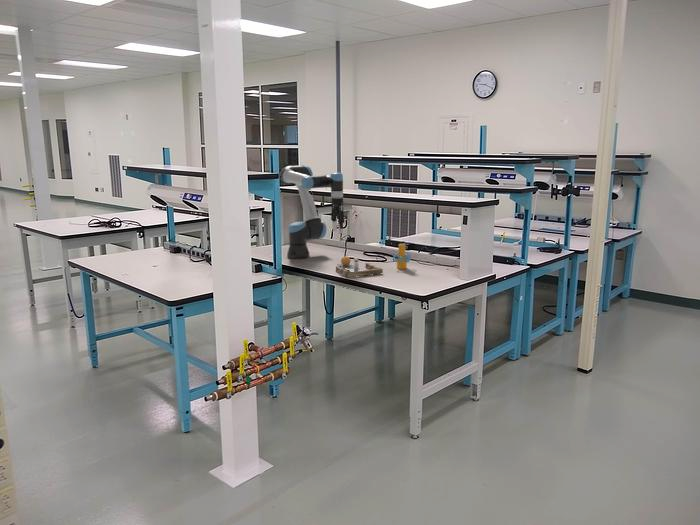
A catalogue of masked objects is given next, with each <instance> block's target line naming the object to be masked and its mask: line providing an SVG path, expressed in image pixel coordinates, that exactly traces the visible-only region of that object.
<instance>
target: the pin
mask: <svg viewBox="0 0 700 525" xmlns="http://www.w3.org/2000/svg"><path fill="white" fill-rule="evenodd" d="M353 259H354V265H353V266H354V271H358V268H359V257H358V256H354V258H353Z"/></svg>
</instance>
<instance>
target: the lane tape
mask: <svg viewBox="0 0 700 525" xmlns="http://www.w3.org/2000/svg"><path fill="white" fill-rule="evenodd" d="M338 265H339V266H341V267H342V268H347V269H354V265H352V264H351V263H350V264H349V265H348V266H344V265H342V263H337V265H336V266H338ZM360 269H361V268H359V267H358V270H360Z"/></svg>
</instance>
